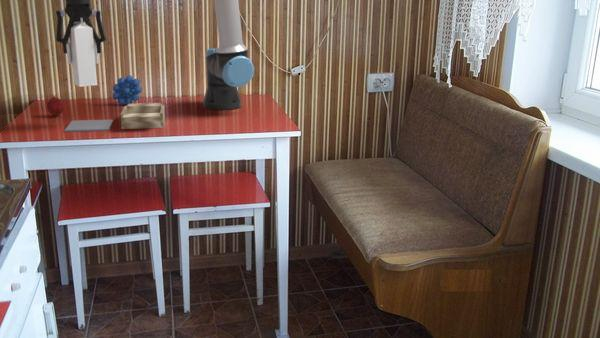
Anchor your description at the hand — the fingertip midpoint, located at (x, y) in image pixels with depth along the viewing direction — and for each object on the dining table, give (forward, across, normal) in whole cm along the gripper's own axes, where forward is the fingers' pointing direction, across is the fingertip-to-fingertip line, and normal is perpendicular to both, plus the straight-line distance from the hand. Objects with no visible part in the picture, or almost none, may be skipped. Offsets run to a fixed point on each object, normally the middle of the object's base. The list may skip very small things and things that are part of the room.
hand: (83, 63), depth 202 cm
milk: (+7, 0, 0) cm, 7 cm away
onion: (+22, +14, -17) cm, 31 cm away
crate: (+22, -18, -2) cm, 28 cm away
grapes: (+22, -10, -35) cm, 42 cm away
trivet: (+22, 0, 0) cm, 22 cm away
